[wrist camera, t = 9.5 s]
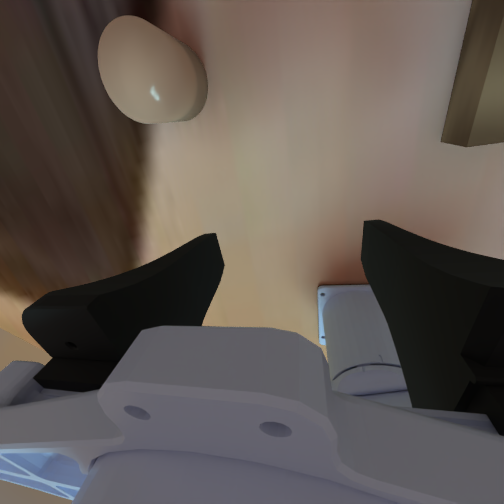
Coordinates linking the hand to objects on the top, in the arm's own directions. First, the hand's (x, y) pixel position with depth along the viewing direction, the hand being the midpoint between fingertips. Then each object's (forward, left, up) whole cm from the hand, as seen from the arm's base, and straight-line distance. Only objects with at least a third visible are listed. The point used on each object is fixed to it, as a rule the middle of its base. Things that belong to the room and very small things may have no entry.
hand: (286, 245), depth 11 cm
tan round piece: (+9, +8, -10) cm, 16 cm away
